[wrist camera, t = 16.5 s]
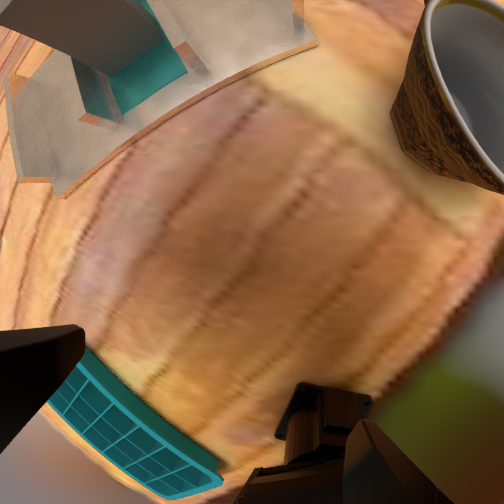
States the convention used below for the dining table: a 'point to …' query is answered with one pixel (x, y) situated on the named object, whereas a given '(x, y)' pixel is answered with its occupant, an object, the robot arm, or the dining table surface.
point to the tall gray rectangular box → (86, 29)
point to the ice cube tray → (132, 433)
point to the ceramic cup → (455, 93)
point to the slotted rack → (142, 84)
